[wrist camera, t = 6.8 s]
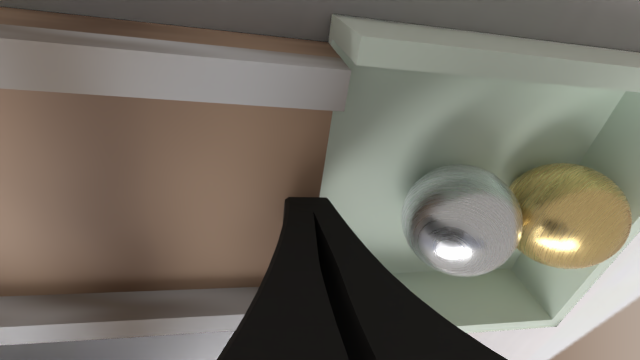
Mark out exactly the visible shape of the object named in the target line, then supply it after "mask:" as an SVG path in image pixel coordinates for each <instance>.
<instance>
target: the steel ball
mask: <svg viewBox="0 0 640 360" xmlns="http://www.w3.org/2000/svg"><path fill="white" fill-rule="evenodd" d="M401 222H402V229H403V233H404V236H405V239H406V241H407V243H408V245H409V247H410V248H411V250H412V251H413V252H414V254H415V255H416V256H417V257H418V258H419V259H420V260H421V261H422V262H423V263H425V264H426V265H428V266H429V267H431V268H432V269H434V270H437V271H439V272H441V273H444V274H447V275H451V276H457V277H473V276H479V275H483V274H486V273H489V272H491V271H493V270H495V269H497V268H498V267H500V266H501V265H502V264H504V263H505V262H506V261H507V260H508V259H509V258H510V257H511V256H512V254H513V253H514V251H515V250H516V248H517V246H518V244H519V242H520V239H521V235H522V228H523V217H522V212H521V208H520V205H519V202H518V200H517V198H516V196H515V195H514V193H513V192H512V190H511V189H510V188H509V187H508V185H507V184H506V183H505V182H503V181H502V180H501V179H500V178H499V177H497V176H496V175H494V174H493V173H491V172H489V171H487V170H485V169H482V168H479V167H475V166H471V165H462V164H456V165H448V166H443V167H440V168H437V169H434V170H432V171H430V172H428V173H427V174H425V175H424V176H422V177H421V178H420V179H419V180H418V181H416V182H415V184H414V185H413V186H412V187H411V189H410V190H409V192H408V193H407V195H406V198H405V200H404V203H403V207H402V214H401Z"/></svg>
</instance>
